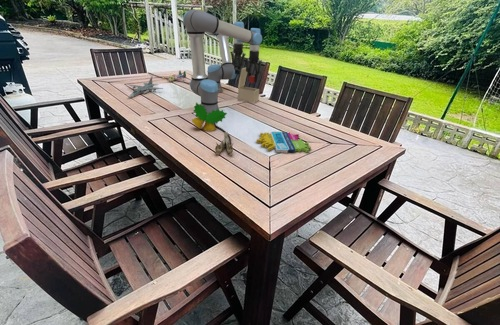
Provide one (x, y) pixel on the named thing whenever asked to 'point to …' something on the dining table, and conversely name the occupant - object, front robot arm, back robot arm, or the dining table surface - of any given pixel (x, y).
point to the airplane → (143, 88)
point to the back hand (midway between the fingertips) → (237, 74)
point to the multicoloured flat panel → (283, 142)
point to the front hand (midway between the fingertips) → (252, 81)
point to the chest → (248, 94)
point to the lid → (242, 76)
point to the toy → (176, 77)
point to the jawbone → (224, 145)
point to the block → (252, 79)
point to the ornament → (207, 117)
